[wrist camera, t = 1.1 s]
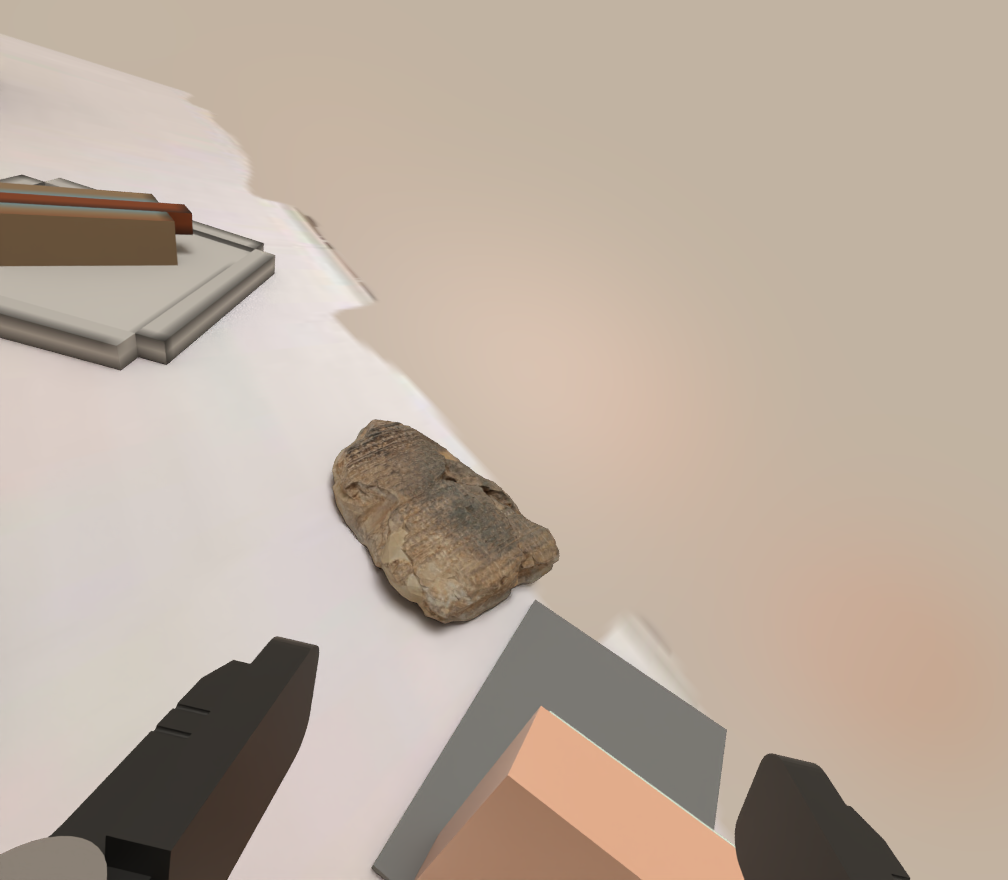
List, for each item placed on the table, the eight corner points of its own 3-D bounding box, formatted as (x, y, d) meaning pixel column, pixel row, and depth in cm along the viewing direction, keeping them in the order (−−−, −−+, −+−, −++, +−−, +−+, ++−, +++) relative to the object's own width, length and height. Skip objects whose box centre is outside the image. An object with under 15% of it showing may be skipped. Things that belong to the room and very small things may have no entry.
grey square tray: (151, 383, 46) (141, 309, 41) (-240, 278, 41) (-299, 181, 36) (281, 271, 69) (284, 216, 65) (43, 196, 65) (29, 132, 60)
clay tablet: (292, 467, 43) (426, 655, 34) (296, 422, 40) (444, 614, 31) (424, 433, 53) (557, 572, 43) (435, 394, 50) (580, 534, 40)
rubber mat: (371, 868, 25) (373, 865, 24) (532, 603, 39) (535, 599, 39) (667, 1130, 21) (674, 1132, 21) (721, 733, 36) (726, 729, 36)
